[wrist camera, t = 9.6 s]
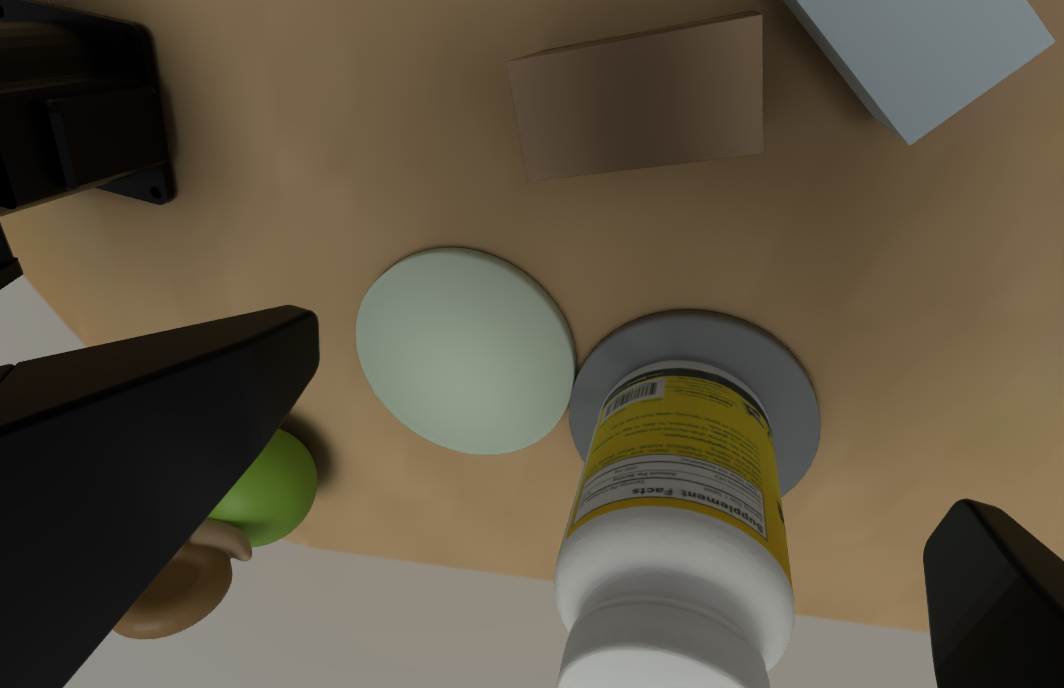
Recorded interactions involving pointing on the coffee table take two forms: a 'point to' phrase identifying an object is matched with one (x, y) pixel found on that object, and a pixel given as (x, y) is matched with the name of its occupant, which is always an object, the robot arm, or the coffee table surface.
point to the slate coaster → (716, 345)
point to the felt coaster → (466, 351)
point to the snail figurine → (227, 540)
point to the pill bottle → (676, 539)
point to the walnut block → (642, 99)
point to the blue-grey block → (922, 52)
